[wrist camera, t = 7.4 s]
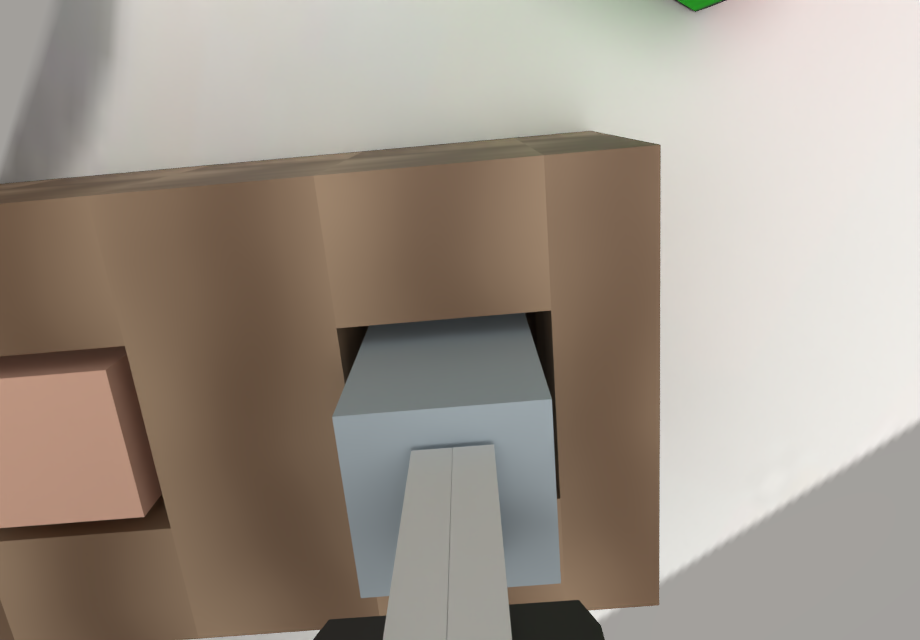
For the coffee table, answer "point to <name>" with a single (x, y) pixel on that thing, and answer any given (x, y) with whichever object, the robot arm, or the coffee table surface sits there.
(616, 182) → the walnut block
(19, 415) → the terracotta peg
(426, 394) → the slate peg
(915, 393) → the coffee table surface
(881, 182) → the coffee table surface
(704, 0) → the puzzle cube
